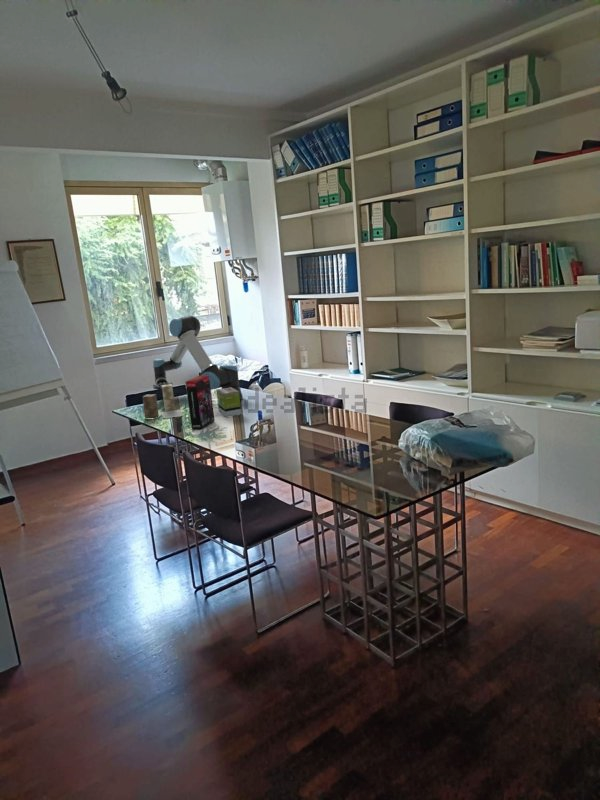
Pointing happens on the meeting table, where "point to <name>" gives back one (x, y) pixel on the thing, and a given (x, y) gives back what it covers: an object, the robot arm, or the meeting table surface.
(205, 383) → the graphics card box
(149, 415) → the walnut block
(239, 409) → the tea box
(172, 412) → the grey felt mat
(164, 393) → the beech block
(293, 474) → the meeting table surface
